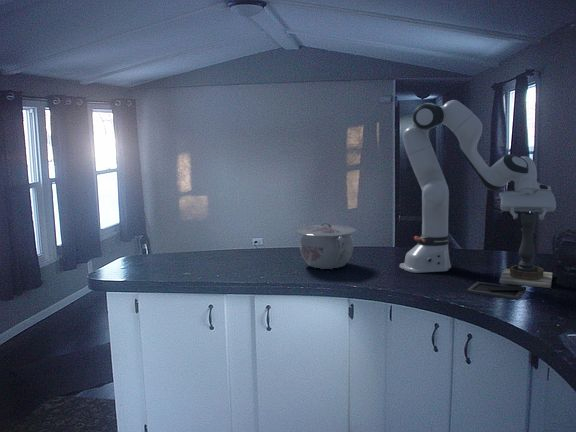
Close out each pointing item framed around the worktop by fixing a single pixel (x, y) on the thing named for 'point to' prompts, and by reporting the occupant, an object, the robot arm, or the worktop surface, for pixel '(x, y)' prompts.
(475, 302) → the worktop surface
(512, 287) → the picture frame
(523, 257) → the candle holder
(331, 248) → the chamber pot
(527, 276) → the collar board
